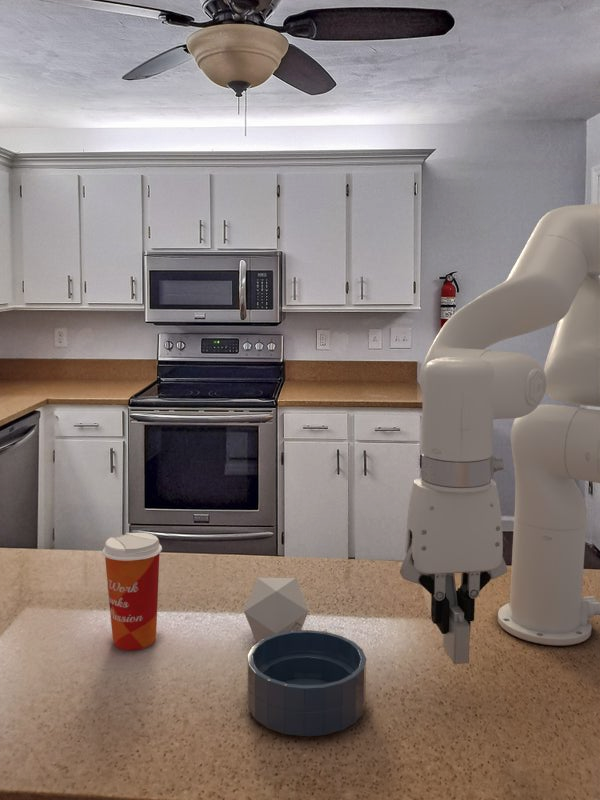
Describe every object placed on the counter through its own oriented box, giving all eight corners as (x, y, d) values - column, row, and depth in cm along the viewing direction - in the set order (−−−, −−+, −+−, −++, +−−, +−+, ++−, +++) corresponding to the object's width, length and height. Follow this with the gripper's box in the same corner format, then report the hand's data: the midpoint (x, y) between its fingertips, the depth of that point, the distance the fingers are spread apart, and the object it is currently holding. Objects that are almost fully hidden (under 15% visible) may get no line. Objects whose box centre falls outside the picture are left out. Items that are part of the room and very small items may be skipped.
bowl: (352, 673, 90) (353, 627, 90) (375, 737, 77) (377, 684, 77) (245, 679, 89) (245, 632, 88) (250, 745, 76) (250, 691, 75)
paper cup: (93, 640, 98) (90, 540, 96) (141, 622, 104) (139, 527, 102) (127, 660, 93) (124, 555, 91) (175, 640, 99) (174, 540, 97)
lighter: (469, 663, 80) (471, 594, 79) (454, 664, 80) (456, 595, 79) (449, 632, 87) (450, 568, 86) (435, 633, 87) (436, 569, 86)
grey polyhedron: (284, 666, 93) (325, 596, 95) (225, 627, 94) (267, 559, 96) (285, 657, 102) (322, 594, 104) (230, 622, 103) (269, 560, 105)
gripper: (511, 459, 85) (506, 608, 88) (377, 464, 83) (376, 617, 86) (540, 476, 77) (532, 639, 80) (393, 482, 76) (391, 648, 79)
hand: (452, 626), depth 83 cm, fingers closed on lighter, 1 cm apart
